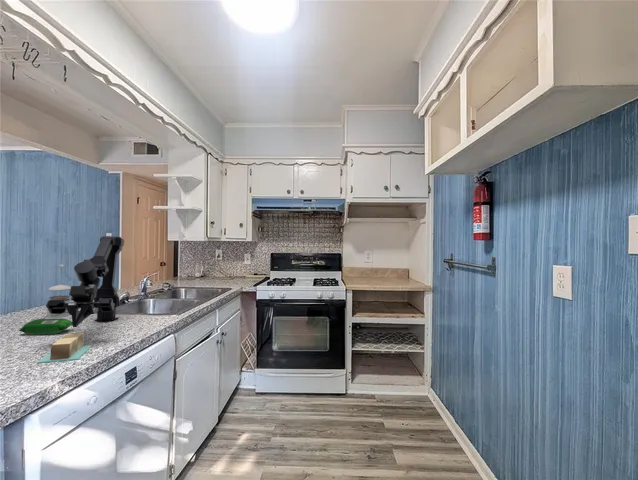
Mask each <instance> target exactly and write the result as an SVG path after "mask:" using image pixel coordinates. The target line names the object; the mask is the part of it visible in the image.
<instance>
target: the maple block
mask: <svg viewBox="0 0 638 480" xmlns="http://www.w3.org/2000/svg"><path fill="white" fill-rule="evenodd" d="M84 338H85V332H71V333H70V332H68V333H67V334H65V335H63V337H61V338H60V339H58V340H57V341H56V342H54V343H52V344H51V345H50V352H51V355H50V360H56V359H67V358H69V357H71V356H72V355H73V354H74V353H75V352H76V351H77V350H78V349H80V348H81V347H82V346H84V342H85V341H84Z"/></svg>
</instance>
